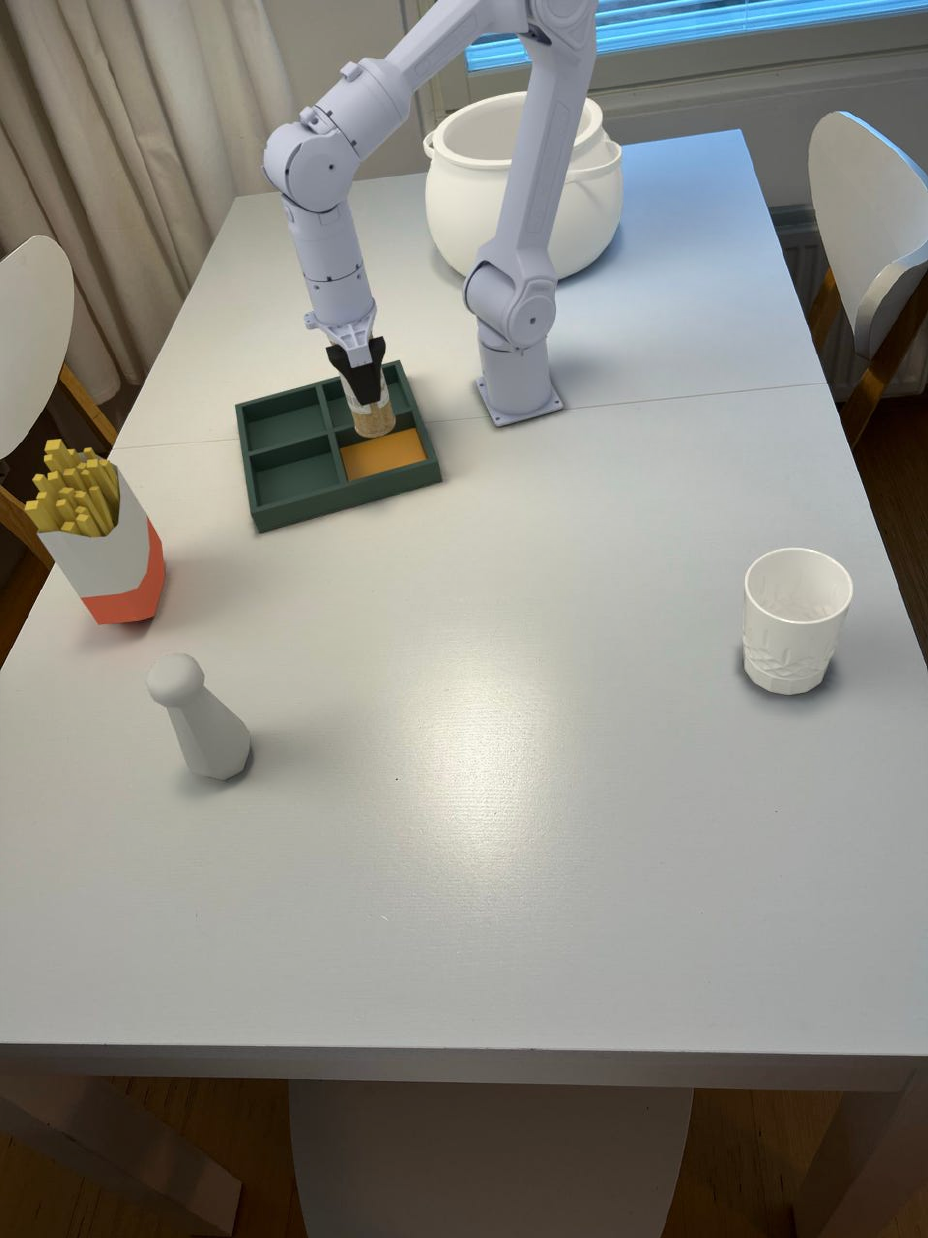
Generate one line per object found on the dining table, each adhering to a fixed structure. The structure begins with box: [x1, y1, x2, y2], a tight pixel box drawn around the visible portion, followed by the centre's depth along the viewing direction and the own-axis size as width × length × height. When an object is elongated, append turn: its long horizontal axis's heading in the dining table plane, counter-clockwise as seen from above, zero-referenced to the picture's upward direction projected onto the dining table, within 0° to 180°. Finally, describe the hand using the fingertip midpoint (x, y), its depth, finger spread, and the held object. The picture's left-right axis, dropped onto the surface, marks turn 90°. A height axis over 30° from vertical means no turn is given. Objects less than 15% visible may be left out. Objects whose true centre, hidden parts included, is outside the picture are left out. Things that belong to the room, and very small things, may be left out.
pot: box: [422, 90, 624, 281], centre depth 125 cm, size 29×26×16 cm
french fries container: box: [24, 438, 166, 626], centre depth 90 cm, size 5×11×18 cm, turn 0°
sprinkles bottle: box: [326, 326, 396, 438], centre depth 95 cm, size 5×5×14 cm
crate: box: [234, 359, 443, 534], centre depth 106 cm, size 20×20×3 cm
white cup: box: [742, 547, 854, 696], centre depth 76 cm, size 8×8×10 cm
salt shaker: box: [144, 652, 252, 782], centre depth 77 cm, size 6×6×13 cm
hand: (366, 388), depth 97 cm, fingers closed on sprinkles bottle, 4 cm apart
